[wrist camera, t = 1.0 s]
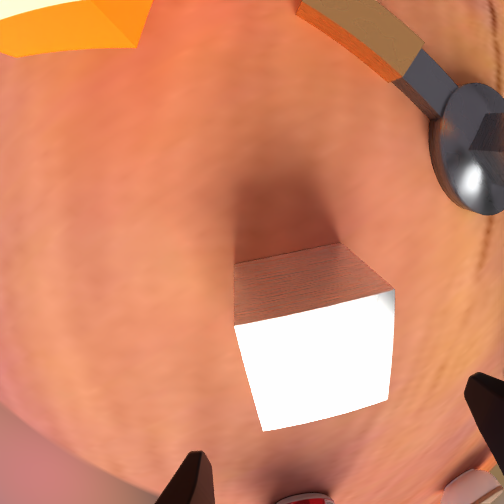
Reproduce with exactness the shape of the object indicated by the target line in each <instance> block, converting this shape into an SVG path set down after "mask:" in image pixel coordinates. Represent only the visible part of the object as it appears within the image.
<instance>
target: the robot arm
mask: <svg viewBox="0 0 504 504" xmlns="http://www.w3.org/2000/svg"><path fill="white" fill-rule="evenodd" d="M464 397H465V400H466V402H467V404H468V406H469V408H470V410H471V413H472V415H473V417H474V419H475V422H476V424H477V426H478V428H479V430H480V432H481V434H482V436H483V438H484V439H485V441H486V443H487V445H488V447H489V448H490V450H491V452H492V454H493V456H494V458H495V460H496V461H497V463H498V465H499V467H500V469H501V471H502V473H503V475H504V381H502V380H499V379H497V378H494V377H492V376H489V375H486V374H484V373H481V372H477V373H475V374H473V375H471V376H470V377H469V379H468V382H467V385H466V388H465V391H464ZM155 504H215V498H214V487H213V474H212V466H211V463H210V462H209V460H208V458H207V456H206V455H205V453H204V452H203V451H191V452H189V453H188V455H187V456H186V458H185V459H184V461H183V463H182V464H181V466H180V467H179V469H178V470H177V472H176V473H175V475H174V476H173V478H172V479H171V481H170V482H169V483H168V485H167V486H166V488H165V489H164V491H163V492H162V494H161V495H160V497H159V498H158V500H157V501H156V503H155Z"/></svg>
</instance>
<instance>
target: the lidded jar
mask: <svg viewBox="0 0 504 504" xmlns="http://www.w3.org/2000/svg"><path fill="white" fill-rule="evenodd" d="M502 492H503V487H502V486H501V485H500V484H499V482H498V481H497V479H496V478H495V477H494V476H493V475H492V474H491V473H489V472H487V471H485V470H475V469H470V470H468V471H466V472H464V473H463V474H461V475H460V476H458V477H457V478H455V479H454V480H453V481H451V482H450V483H449V484H448V485H447V486H446V487H445V488H444V493H443V495H442V498H441V502H440V504H490V503H491V502H492V501H494V500H495V499H496V498H497V497H498V496H499V495H500V494H501V493H502Z"/></svg>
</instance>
